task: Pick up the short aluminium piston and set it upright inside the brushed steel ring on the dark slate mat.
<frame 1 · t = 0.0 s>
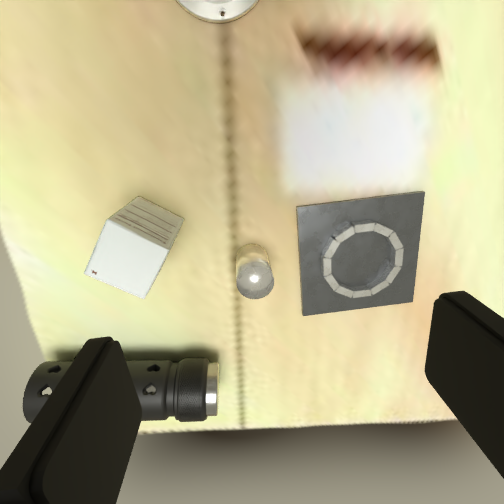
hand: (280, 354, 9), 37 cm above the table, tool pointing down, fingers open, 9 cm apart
muzzle brake: (141, 364, 55), on the table
supplement box: (152, 227, 45), on the table
ring mat: (358, 256, 49), on the table
piston: (251, 258, 48), on the table
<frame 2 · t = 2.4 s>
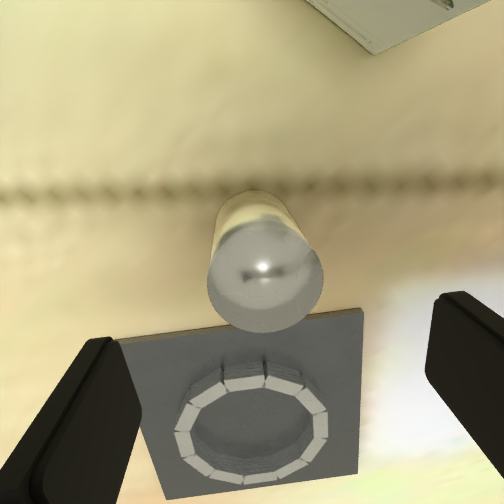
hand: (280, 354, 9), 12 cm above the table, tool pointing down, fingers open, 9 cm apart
ring mat: (251, 412, 27), on the table
piston: (253, 227, 21), on the table
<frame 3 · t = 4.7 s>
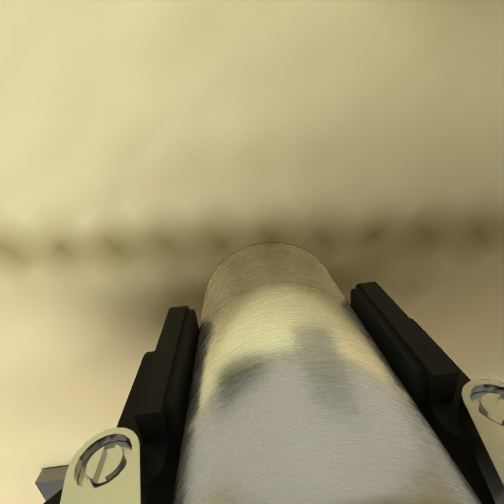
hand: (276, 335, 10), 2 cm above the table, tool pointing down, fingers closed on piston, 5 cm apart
piston: (269, 303, 12), on the table, touching gripper
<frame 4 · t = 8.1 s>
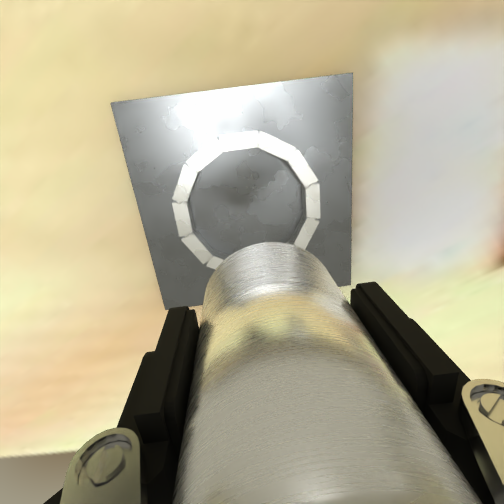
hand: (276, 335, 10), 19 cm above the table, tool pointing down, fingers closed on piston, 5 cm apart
ring mat: (246, 204, 28), on the table
piston: (269, 302, 12), point 17 cm above the table, touching gripper
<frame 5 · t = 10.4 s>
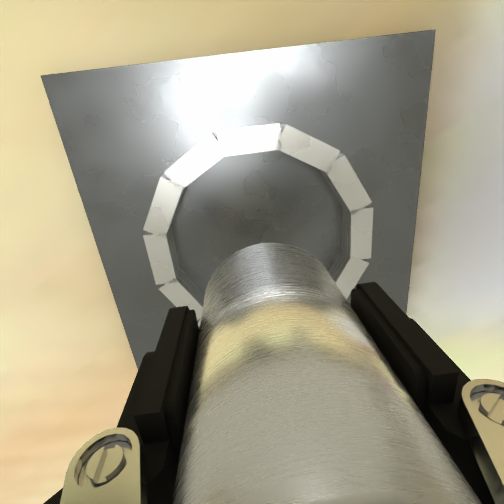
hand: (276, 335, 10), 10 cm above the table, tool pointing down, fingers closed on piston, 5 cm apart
ring mat: (258, 234, 19), on the table
piston: (269, 303, 12), point 8 cm above the table, touching gripper
when the fingers open (4 cm above the table, at t = 11.9 s): piston drops 1 cm, resting on ring mat.
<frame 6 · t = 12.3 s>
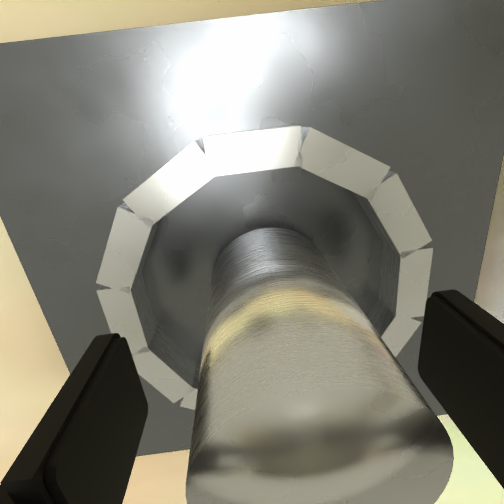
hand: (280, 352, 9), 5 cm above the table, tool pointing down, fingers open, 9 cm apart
ring mat: (264, 278, 14), on the table
piston: (270, 283, 13), point 1 cm above the table, touching ring mat
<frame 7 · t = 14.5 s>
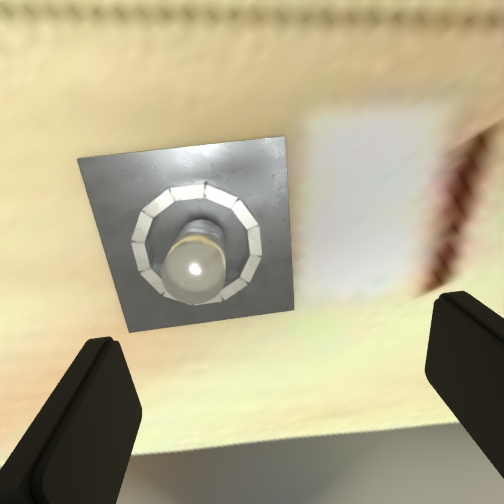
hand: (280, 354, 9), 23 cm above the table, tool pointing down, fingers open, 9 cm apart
ring mat: (199, 242, 32), on the table
piston: (201, 243, 31), point 1 cm above the table, touching ring mat
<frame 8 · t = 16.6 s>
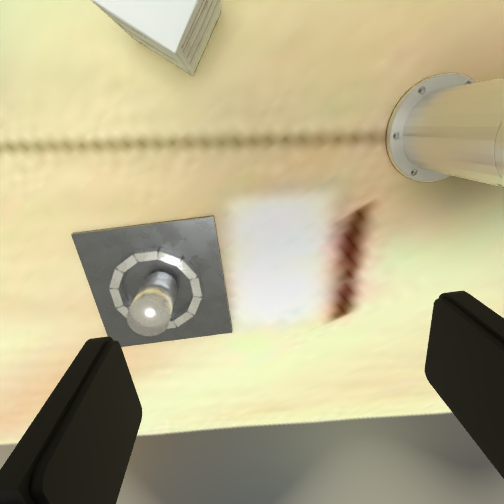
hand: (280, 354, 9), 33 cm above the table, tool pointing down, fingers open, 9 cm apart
supplement box: (178, 26, 33), on the table
ring mat: (159, 285, 45), on the table
piston: (159, 287, 44), point 1 cm above the table, touching ring mat
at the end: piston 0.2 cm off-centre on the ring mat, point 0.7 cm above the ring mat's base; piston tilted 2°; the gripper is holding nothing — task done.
